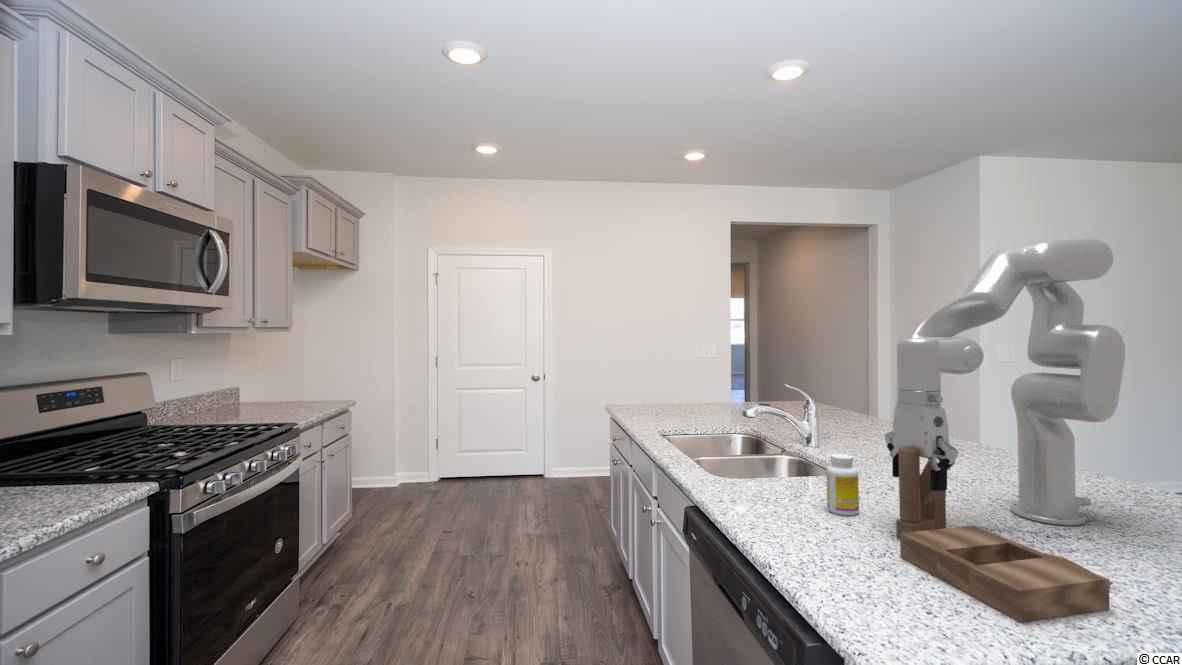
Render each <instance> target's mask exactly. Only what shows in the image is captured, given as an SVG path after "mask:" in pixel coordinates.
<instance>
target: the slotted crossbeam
mask: <svg viewBox="0 0 1182 665" xmlns="http://www.w3.org/2000/svg"><path fill="white" fill-rule="evenodd" d="M899 540H900V541H899V542H900V543H899V544H900V545H899V547H900V550H899V551H900V559H902V560H904V561H906V562H908V563H910V564H911V565H913V566H915V567H917V568H919V569H921V570H922V571H924V572H927V573H928V574H929V575H932V576H933V577H936V578H937V579H939V580H941V581H943V582H945V583H947V584H949V585H951V586H952V587H953V588H956V589H958V590H960V591H961V592H963V593H964V594H967V595H969V596H970V597H973V598H974V599H975V600H978V601H980V602H981V603H984V604H985V605H987V606H989V607H991V608H993V609H995V610H997V611H998V612H1000V613H1002V614H1003V615H1005V616H1007V617H1009V618H1011V619H1013V620H1015V621H1017V622H1018V623H1026V622H1032V621H1039V620H1040V621H1041V620H1048V619H1053V618H1054V619H1055V618H1059V617H1060V618H1061V617H1068V616H1073V615H1074V616H1075V615H1080V614H1086V613H1087V614H1089V613H1094V612H1102V611H1108V610H1110V608H1111V607H1110V588H1109V582H1110V578H1107V577H1105V576H1102V575H1099V574H1097V573H1095V572H1093V571H1091V570H1089V571H1087V570H1085V569H1082V568H1080V567H1077V566H1075V565H1072V564H1070V563H1067V562H1065V561H1062V560H1060V559H1057V558H1055V557H1052V556H1049V555H1047V554H1044V553H1045V552H1042V551H1039V550H1037V549H1033V548H1032V547H1029V546H1026V545H1024V544H1021V543H1018V542H1016V541H1014V540H1011V539H1009V538H1006V537H1003V536H1001V535H999V534H996V533H993V532H990V531H988V530H986V529H983V528H981V527H978V526H976V525H966V526H957V527H946V528H945V529H935V530H925V531H916V532H906V533H900V538H899ZM1090 571H1091V572H1090Z"/></svg>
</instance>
